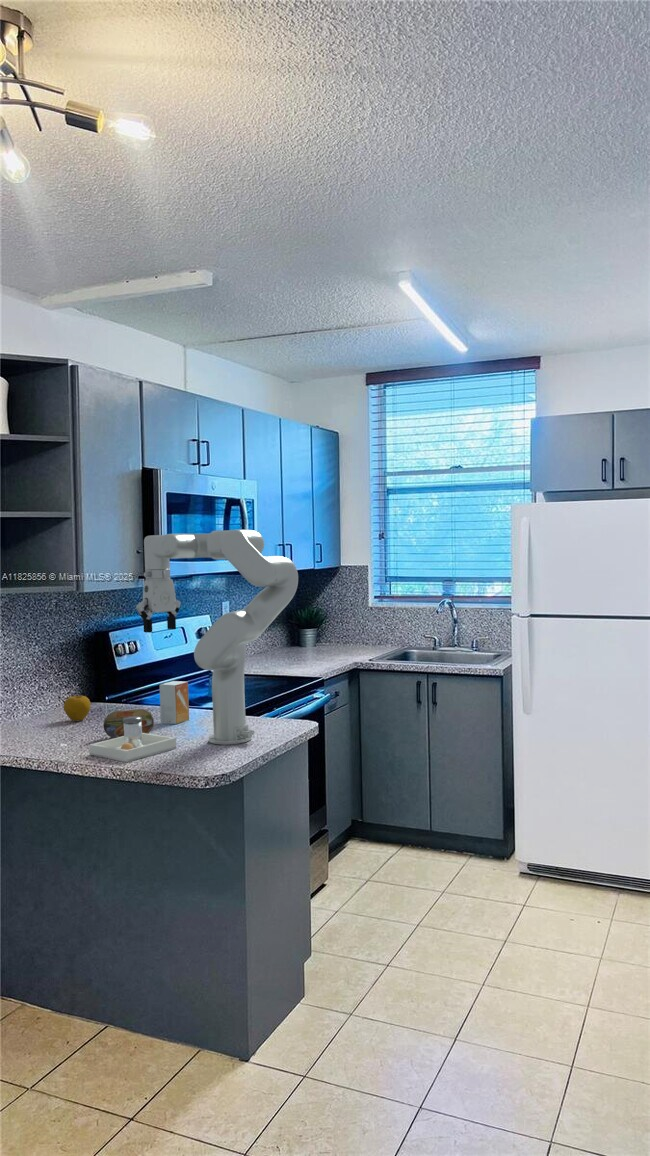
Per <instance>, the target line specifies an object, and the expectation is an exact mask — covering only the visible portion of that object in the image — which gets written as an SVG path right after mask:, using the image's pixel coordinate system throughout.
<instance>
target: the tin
mask: <svg viewBox="0 0 650 1156" xmlns="http://www.w3.org/2000/svg"><path fill="white" fill-rule="evenodd" d="M132 716H140V717H142V733H147V734H151V732H152V730H153V728H154V725H155V724H154V721H155V720H154V716H153V715H152V714H151V712H150V711H148V710H147V709H144V708H137V709H126V710H125V709H124V710H116V711H115V710H114V711H112V712H111V713H108V714H107V715H106V717H105V718H104V720H103V729H104V732H105V734H106V735H107V736H109V737H110V739H114V738H118V737H122V736H124V723H123V718H126V717H132Z"/></svg>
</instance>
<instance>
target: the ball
mask: <svg viewBox="0 0 650 1156" xmlns="http://www.w3.org/2000/svg"><path fill="white" fill-rule="evenodd" d="M133 748H134V747H133V745H132V744H130V743H125V744H123V745H122V746H121V749H125V750H129V749H133Z"/></svg>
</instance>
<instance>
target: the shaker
mask: <svg viewBox="0 0 650 1156" xmlns="http://www.w3.org/2000/svg"><path fill="white" fill-rule="evenodd" d="M123 723H124V744H125V743H130V744H132V745H133V747H134V748H137V747H140V746H143V743H142V717H140V716H132V717H126V718H123Z"/></svg>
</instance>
